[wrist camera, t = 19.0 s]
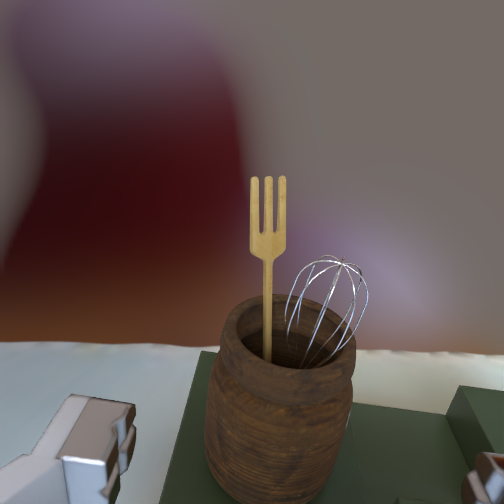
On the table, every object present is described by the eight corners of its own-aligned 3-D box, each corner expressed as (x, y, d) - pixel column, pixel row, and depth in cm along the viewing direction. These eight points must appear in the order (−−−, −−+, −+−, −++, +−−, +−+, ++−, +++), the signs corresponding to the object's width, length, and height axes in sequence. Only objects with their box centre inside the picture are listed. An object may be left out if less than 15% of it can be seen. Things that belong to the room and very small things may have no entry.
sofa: (549, 478, 27) (629, 365, 22) (728, 763, 16) (951, 653, 12) (195, 430, 27) (203, 308, 23) (137, 677, 16) (132, 538, 12)
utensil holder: (233, 545, 15) (279, 257, 9) (183, 414, 20) (195, 177, 14) (359, 488, 17) (452, 236, 12) (287, 384, 22) (329, 174, 17)
